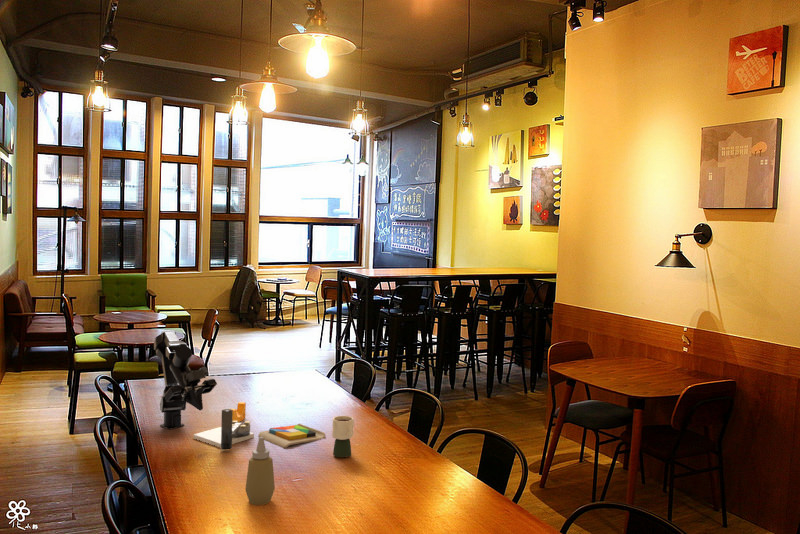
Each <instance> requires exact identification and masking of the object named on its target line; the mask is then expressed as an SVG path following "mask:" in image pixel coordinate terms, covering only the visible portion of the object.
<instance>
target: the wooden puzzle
mask: <svg viewBox="0 0 800 534" xmlns="http://www.w3.org/2000/svg"><path fill="white" fill-rule="evenodd" d="M260 437H263V439H264V441H265V442H268V443H271V444H272V445H275V446H278V447H280V448H283V449H287V448H288V447H289V446H292V445H293V446H294V445H298V444H304V443H311V442H315V440H316V441H319V440H318V439H320V440H322V439H321V438H323V439H325V438H326V433H325V432H323V431H321V430H318V429H316V428H314V427H310V426H308V425H304V424H302V423H297V424H294V425H286V426H285V425H284V426H279V427H278V426H277V427H270V428H269V429H268V430H264V431H261V432H259V433H258V439H259V438H260Z"/></svg>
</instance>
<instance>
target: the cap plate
mask: <svg viewBox="0 0 800 534" xmlns="http://www.w3.org/2000/svg"><path fill="white" fill-rule="evenodd" d="M253 437H255V433H254V432H251V431H250V434H249V435H248V436H245V437H232V445H233V444H237V443H240V442H243V441H246V440H250V439H252V438H253ZM193 439H194V440H196V439H197V441H199V440H200V442H202V441H203V442H202V443H205V442H206V444H208V443H209V444H208V445H211V446H214V445H215V446H214V447H216V446H217V448H219V447H220V449H221V426H219V427H216V428H211V429H208V430H204V431H200V432H197V433H194V434H193Z"/></svg>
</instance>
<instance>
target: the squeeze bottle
mask: <svg viewBox="0 0 800 534" xmlns="http://www.w3.org/2000/svg"><path fill="white" fill-rule="evenodd" d="M251 453H252V456H251V458H250V459H248V466H247V471H246V472H247V473H246V480H245V483H246V484H245V494H246V495H247V496H246V497H247V499H248V502H249V504H251V505H254V506H263V505H266V504H268V503H270V502H271V500H272V497H273V494H274V493H275V492H274V491H275V489H276V487H275V475H274V474H275V473H274V462H273V458H272V457H271V456H270V449H268V448H266V445H265V440H264V439H263V437H260V438H259V437H258V440H257V445H256V448H255V449H253V450H252V452H251Z"/></svg>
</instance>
